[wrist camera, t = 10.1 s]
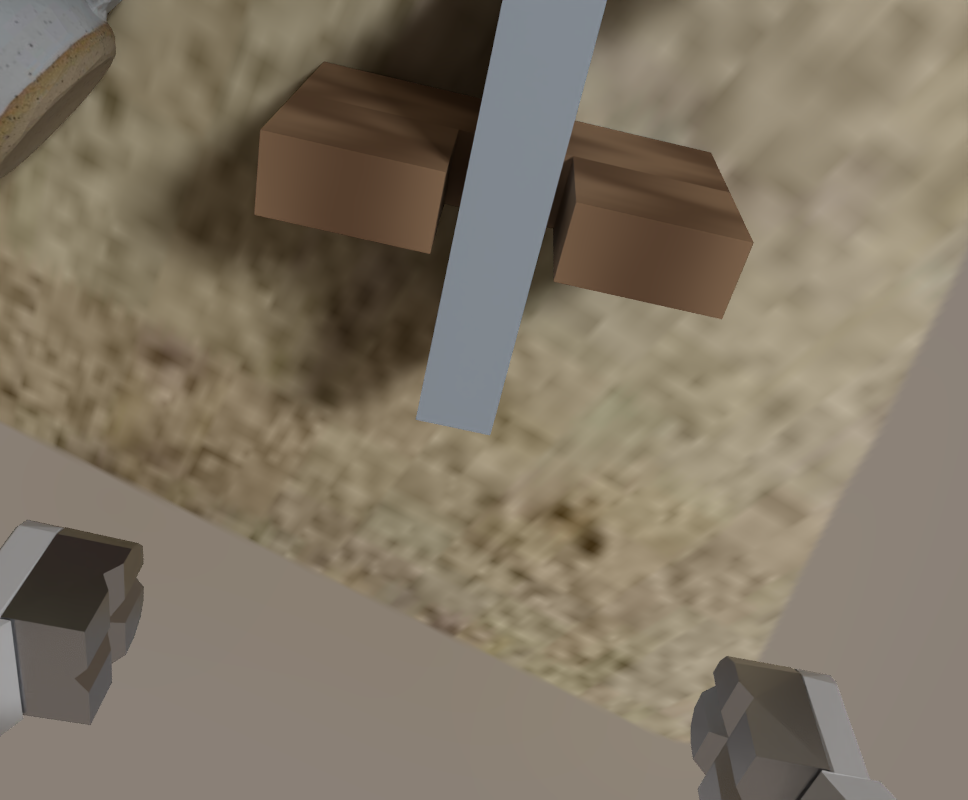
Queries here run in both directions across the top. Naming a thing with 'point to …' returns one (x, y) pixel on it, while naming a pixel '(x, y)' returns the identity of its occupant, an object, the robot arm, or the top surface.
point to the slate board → (506, 203)
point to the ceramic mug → (47, 67)
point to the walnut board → (441, 177)
